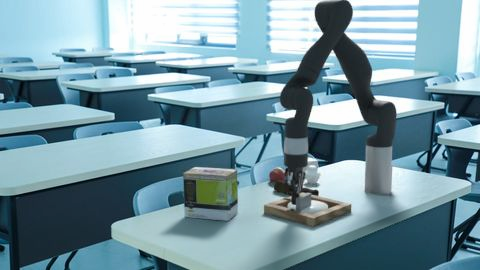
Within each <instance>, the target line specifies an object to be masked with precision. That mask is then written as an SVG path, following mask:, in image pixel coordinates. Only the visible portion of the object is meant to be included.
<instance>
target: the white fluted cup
mask: <svg viewBox="0 0 480 270" xmlns="http://www.w3.org/2000/svg"><path fill="white" fill-rule="evenodd" d="M305 173H306V174H305V178H304V179H306V182H307V184H311V185H315V184H317V183H318V181H319V179H320V178H321V175H322V174H321V172H320V171H319V168H318V169H317V167H316V166H314V165H311V166H309V167H308V169H307V171H305Z"/></svg>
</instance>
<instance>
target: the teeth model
mask: <svg viewBox="0 0 480 270" xmlns="http://www.w3.org/2000/svg"><path fill="white" fill-rule="evenodd" d="M288 172H289V168H288V167H285V170H284V169H283V168H282V167H280V166H279V167H275V168H274V169H273V170H271V171H270V172H269V174H268V176H269V181H270V182H273V183H275V182H276V181H277V180H282V181H286V179H289V178H288Z"/></svg>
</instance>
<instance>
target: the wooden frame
mask: <svg viewBox="0 0 480 270" xmlns="http://www.w3.org/2000/svg"><path fill="white" fill-rule="evenodd" d="M303 194H305V193H300V196H301V195H303ZM311 200H315V201H320V202H323V203H326V204H327V205H328V209H326V210H323V211H320V212H318V213H315V214H308V213H304V212H300V211H297V210H294V209H292V208H291V209H289V208H288V204H289V203H290V202H291V196H286V197H283V198H281V199H278V200H274V201H272V202H268V203H265V204H263V214H266V215H269V216H273V217H276V218H280V219H283V220H286V221H290V222H294V223H296V224H297V223H298V224H301V225H304V226H308V227H312V228H315V227H318V226H320V225H323V224H325V223H328V222H330V221H333V220H336V219H338V218H341V217H343V216H345V215H348V214H351V213H352V203H348V202H344V201H340V200H338V199H337V200H336V199H332V198H328V197H322V196H319V195H318V196H316V195H311Z"/></svg>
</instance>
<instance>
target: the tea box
mask: <svg viewBox="0 0 480 270" xmlns="http://www.w3.org/2000/svg"><path fill="white" fill-rule="evenodd" d="M182 176H183V177H182V179H183V202H184V203H183V208H184V209H183V211H184V217H185V218H190V219H191V218H193V219H202V220H203V219H204V220H213V221H225V222H229V221H230V220H232V218H234V217H235V216H236V215H238V212H239V209H238V208H239V196H238V195H239V194H238V193H239V192H238V191H239V190H238V168H237V169H236V168H223V167H222V168H221V167H220V168H219V167H207V166H206V167H201V166H195V167H192V168H190V169H189V170H187V171H185V172H183V173H182Z"/></svg>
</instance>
